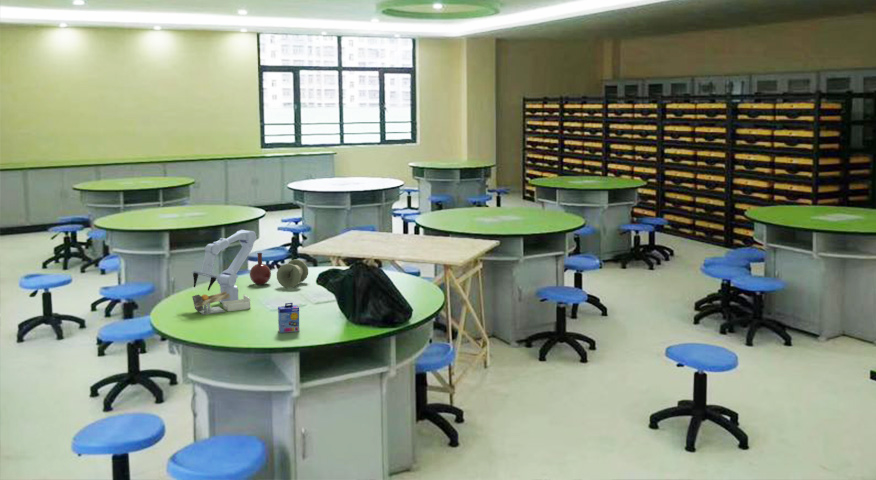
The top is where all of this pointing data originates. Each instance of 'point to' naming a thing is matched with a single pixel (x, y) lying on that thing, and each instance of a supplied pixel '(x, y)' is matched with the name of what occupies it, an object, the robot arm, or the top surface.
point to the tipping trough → (213, 298)
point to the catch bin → (237, 304)
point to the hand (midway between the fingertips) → (201, 288)
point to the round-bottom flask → (260, 272)
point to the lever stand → (211, 310)
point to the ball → (204, 297)
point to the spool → (292, 273)
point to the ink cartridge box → (288, 318)
